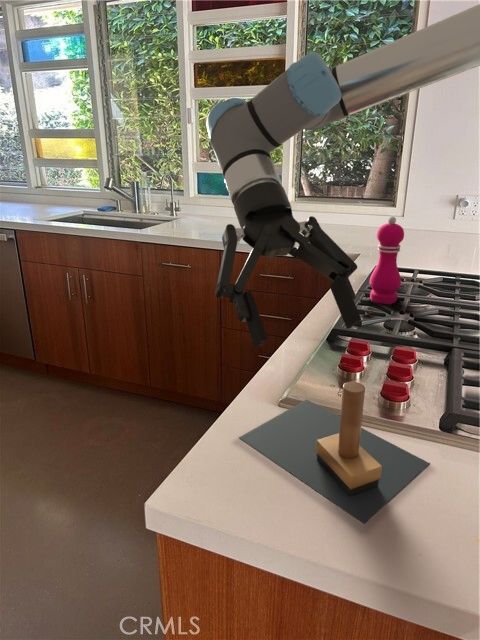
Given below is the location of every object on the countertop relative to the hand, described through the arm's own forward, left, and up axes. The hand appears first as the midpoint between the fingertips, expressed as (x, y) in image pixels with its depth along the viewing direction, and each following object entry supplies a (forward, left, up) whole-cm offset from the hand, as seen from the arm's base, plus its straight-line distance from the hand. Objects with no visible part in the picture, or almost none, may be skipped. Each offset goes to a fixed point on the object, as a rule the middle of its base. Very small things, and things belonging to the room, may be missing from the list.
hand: (309, 333), depth 58 cm
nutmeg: (+19, -44, -16) cm, 51 cm away
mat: (-5, +1, -15) cm, 16 cm away
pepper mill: (+22, -54, -15) cm, 60 cm away
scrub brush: (-9, +3, -15) cm, 17 cm away
